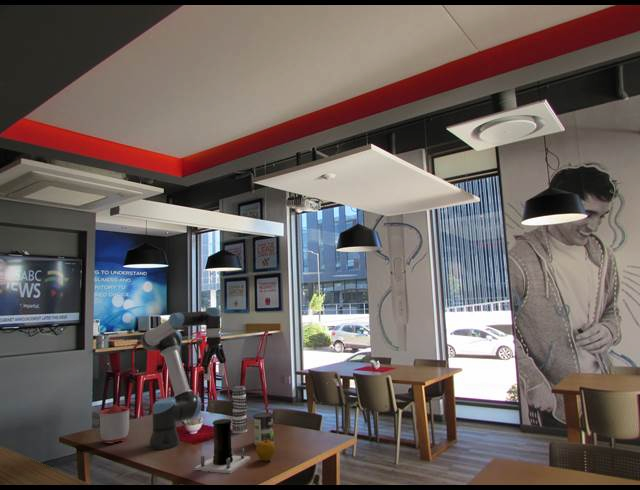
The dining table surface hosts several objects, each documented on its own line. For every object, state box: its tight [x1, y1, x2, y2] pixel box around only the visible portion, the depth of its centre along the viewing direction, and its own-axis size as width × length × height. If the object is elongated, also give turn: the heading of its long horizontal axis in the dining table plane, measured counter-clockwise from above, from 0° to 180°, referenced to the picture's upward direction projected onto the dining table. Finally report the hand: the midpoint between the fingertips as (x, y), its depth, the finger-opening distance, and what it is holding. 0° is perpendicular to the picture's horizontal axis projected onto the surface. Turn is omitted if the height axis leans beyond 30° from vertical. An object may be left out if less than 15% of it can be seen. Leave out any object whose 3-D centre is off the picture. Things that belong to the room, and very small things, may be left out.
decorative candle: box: [230, 385, 249, 434], centre depth 268 cm, size 9×9×25 cm
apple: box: [255, 440, 276, 462], centre depth 215 cm, size 9×9×9 cm
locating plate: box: [194, 448, 251, 474], centre depth 212 cm, size 18×18×5 cm
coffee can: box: [252, 412, 275, 446], centre depth 243 cm, size 10×10×14 cm
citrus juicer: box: [98, 404, 130, 443], centre depth 261 cm, size 16×17×20 cm
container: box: [212, 418, 234, 465], centre depth 212 cm, size 9×9×18 cm
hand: (214, 377), depth 243 cm, fingers open, 13 cm apart
